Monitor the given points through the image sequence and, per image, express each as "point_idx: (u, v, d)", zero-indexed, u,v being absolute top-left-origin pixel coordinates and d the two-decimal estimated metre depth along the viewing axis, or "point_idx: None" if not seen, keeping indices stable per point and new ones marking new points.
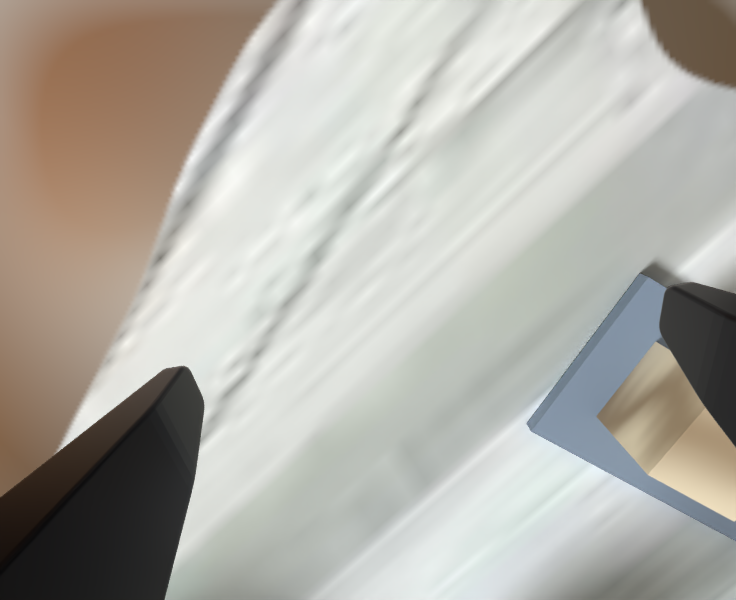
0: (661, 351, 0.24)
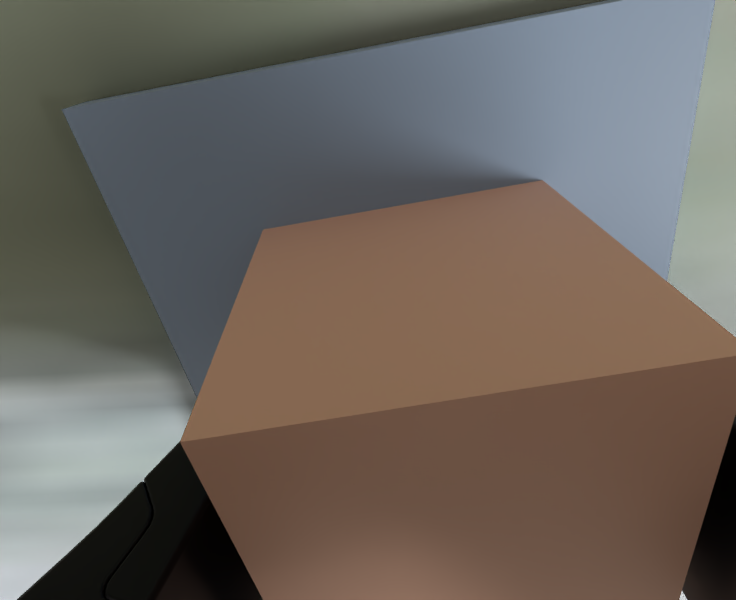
0: None
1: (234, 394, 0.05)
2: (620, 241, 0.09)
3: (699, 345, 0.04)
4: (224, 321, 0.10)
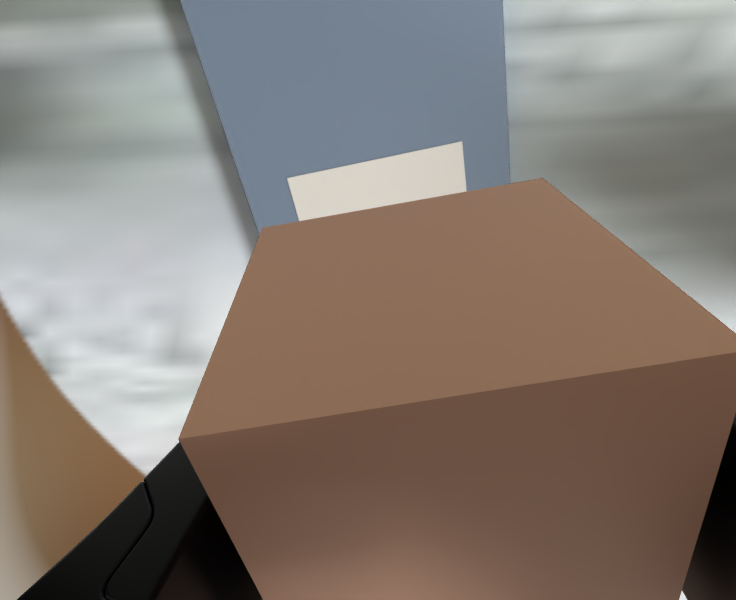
0: None
1: (233, 391, 0.05)
2: None
3: (699, 342, 0.04)
4: None
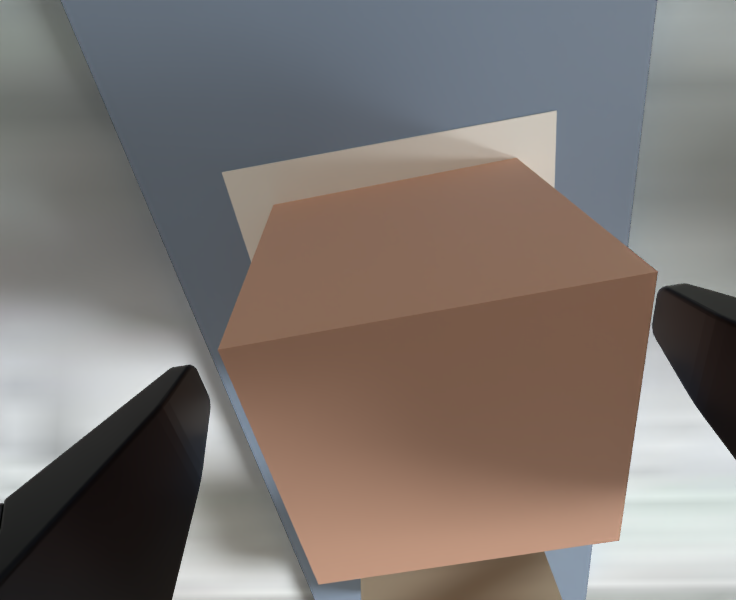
0: None
1: (257, 318, 0.06)
2: None
3: (618, 268, 0.05)
4: None
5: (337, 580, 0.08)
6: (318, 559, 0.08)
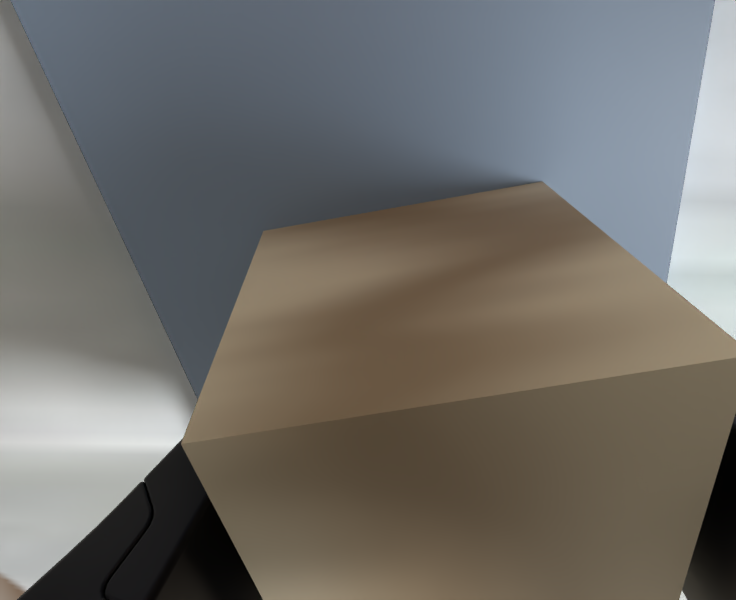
0: None
1: None
2: None
3: None
4: None
5: None
6: None
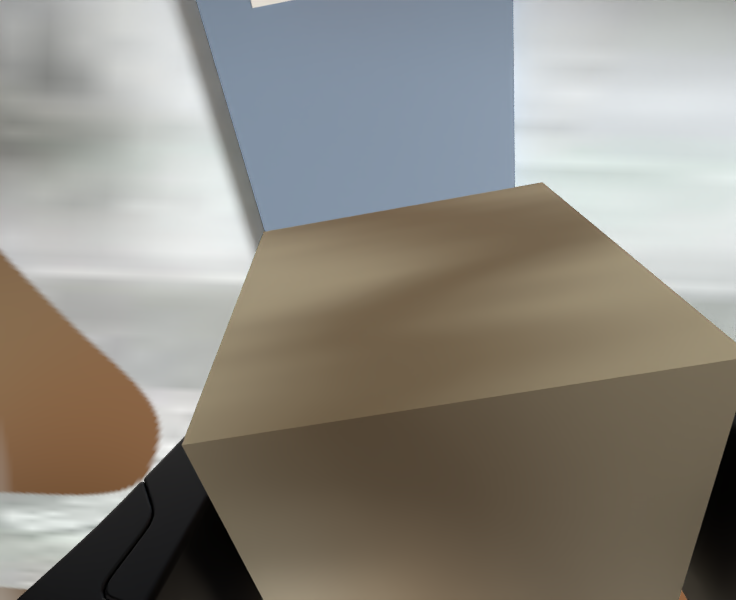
0: None
1: None
2: None
3: None
4: None
5: None
6: None
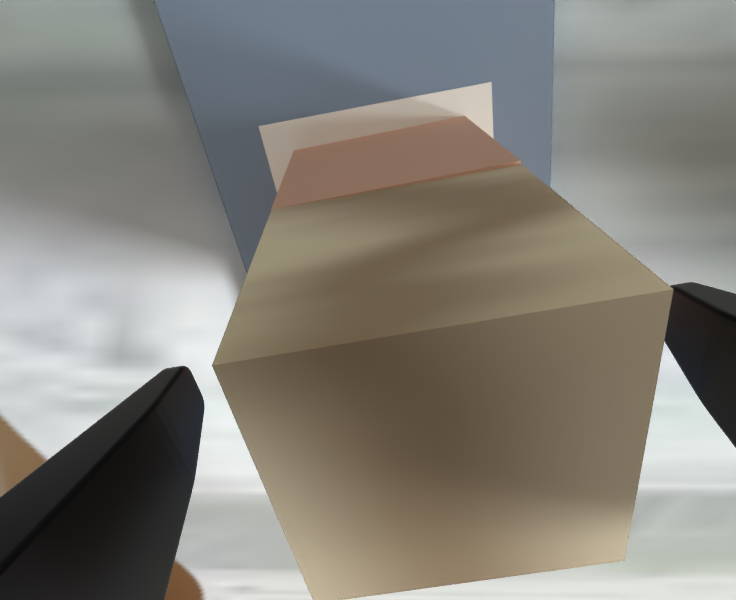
0: None
1: (292, 197, 0.10)
2: None
3: (500, 161, 0.09)
4: None
5: None
6: None
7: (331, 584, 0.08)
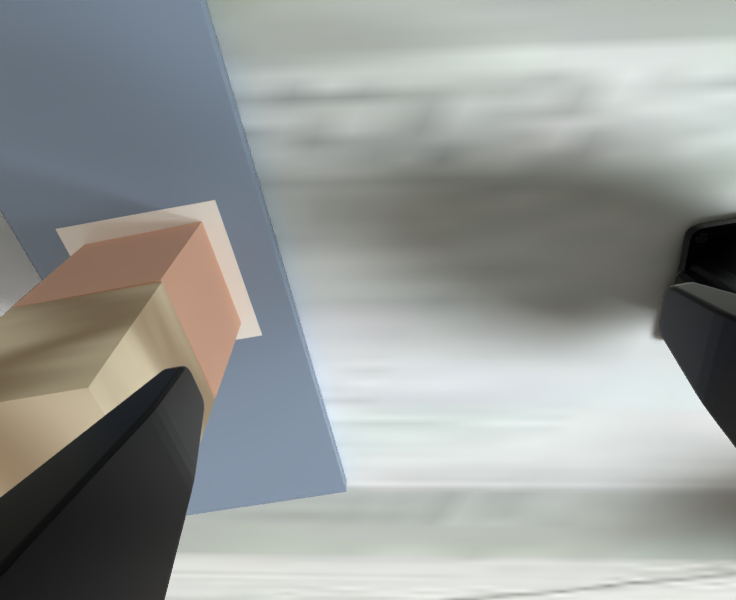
0: None
1: (31, 297, 0.16)
2: None
3: (152, 278, 0.15)
4: None
5: None
6: None
7: None
